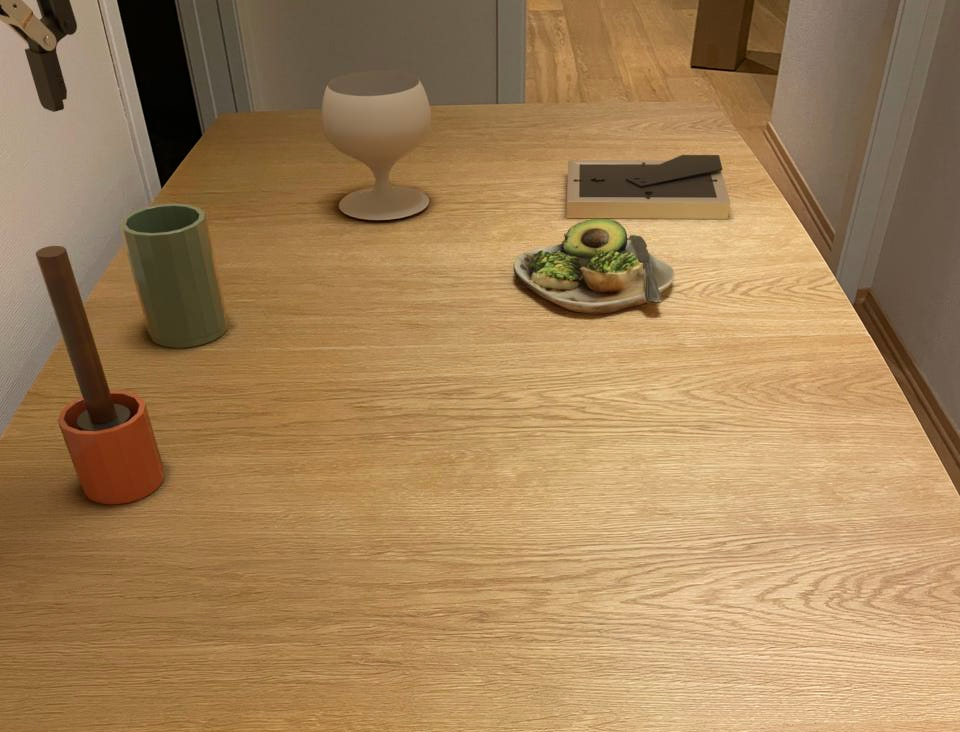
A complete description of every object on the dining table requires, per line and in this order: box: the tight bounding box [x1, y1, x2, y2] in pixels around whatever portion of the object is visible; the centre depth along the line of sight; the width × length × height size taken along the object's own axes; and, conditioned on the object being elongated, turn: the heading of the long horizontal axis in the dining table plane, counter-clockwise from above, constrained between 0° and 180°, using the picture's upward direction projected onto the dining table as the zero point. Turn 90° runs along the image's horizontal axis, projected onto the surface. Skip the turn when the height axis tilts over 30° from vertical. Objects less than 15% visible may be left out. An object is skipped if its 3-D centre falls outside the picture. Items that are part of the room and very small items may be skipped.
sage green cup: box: [119, 203, 229, 349], centre depth 106 cm, size 8×8×12 cm
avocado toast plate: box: [512, 218, 676, 315], centre depth 114 cm, size 19×18×5 cm
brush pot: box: [57, 389, 165, 505], centre depth 87 cm, size 7×7×7 cm
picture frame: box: [565, 154, 731, 220], centre depth 135 cm, size 16×3×21 cm
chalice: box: [321, 69, 433, 221], centre depth 131 cm, size 14×14×15 cm
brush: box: [35, 245, 132, 431], centre depth 82 cm, size 4×4×20 cm
